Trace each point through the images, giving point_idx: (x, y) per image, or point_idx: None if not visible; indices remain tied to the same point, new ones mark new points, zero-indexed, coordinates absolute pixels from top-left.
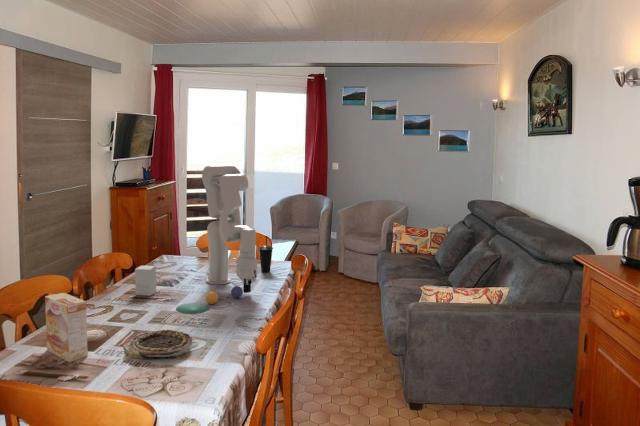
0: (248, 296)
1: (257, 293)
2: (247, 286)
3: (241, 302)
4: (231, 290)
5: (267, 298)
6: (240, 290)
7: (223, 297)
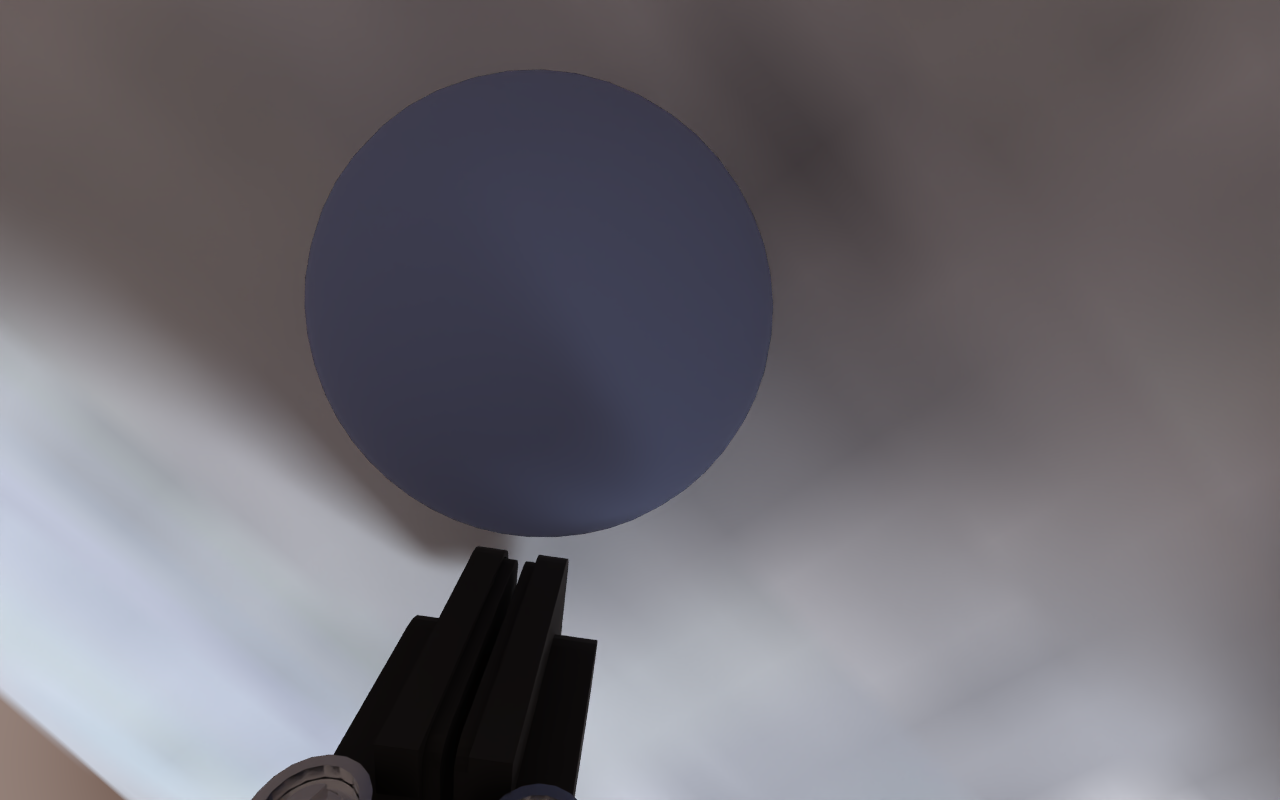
0: (454, 526)
1: None
2: (376, 729)
3: (155, 15)
4: (661, 124)
5: (92, 636)
6: (309, 321)
7: (920, 35)
